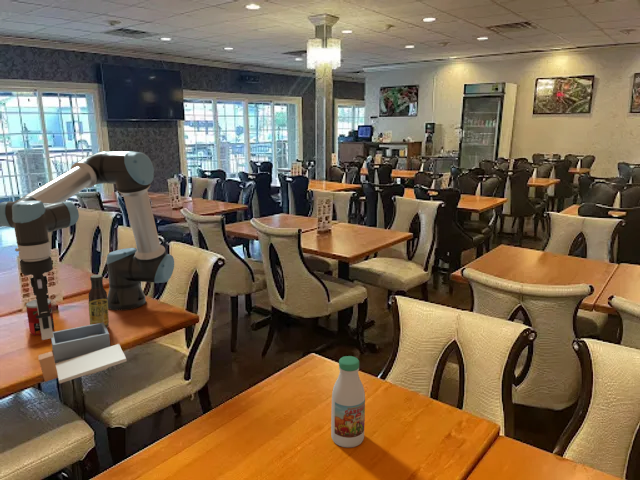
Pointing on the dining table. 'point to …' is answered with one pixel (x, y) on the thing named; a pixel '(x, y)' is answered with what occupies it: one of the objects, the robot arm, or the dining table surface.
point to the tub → (79, 341)
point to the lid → (80, 364)
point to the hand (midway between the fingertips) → (46, 329)
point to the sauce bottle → (98, 301)
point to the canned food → (32, 314)
